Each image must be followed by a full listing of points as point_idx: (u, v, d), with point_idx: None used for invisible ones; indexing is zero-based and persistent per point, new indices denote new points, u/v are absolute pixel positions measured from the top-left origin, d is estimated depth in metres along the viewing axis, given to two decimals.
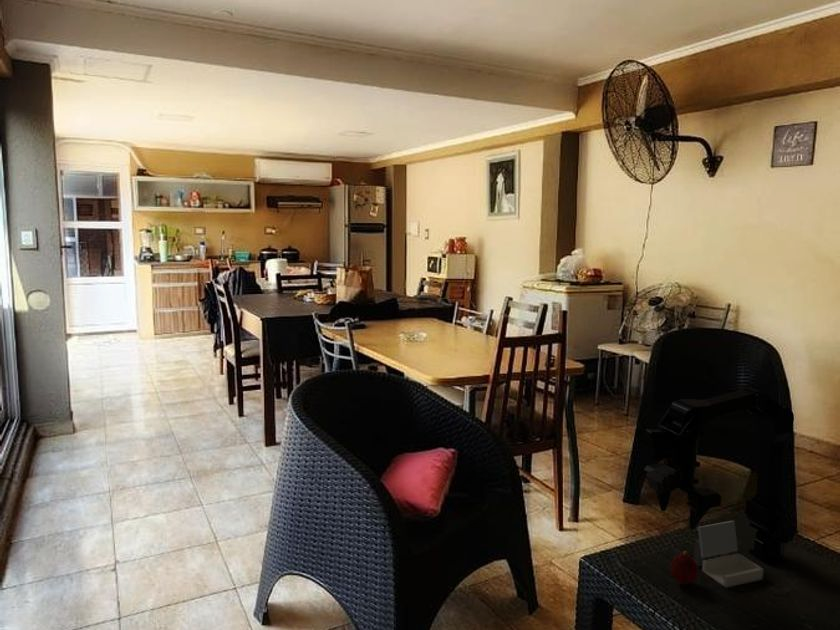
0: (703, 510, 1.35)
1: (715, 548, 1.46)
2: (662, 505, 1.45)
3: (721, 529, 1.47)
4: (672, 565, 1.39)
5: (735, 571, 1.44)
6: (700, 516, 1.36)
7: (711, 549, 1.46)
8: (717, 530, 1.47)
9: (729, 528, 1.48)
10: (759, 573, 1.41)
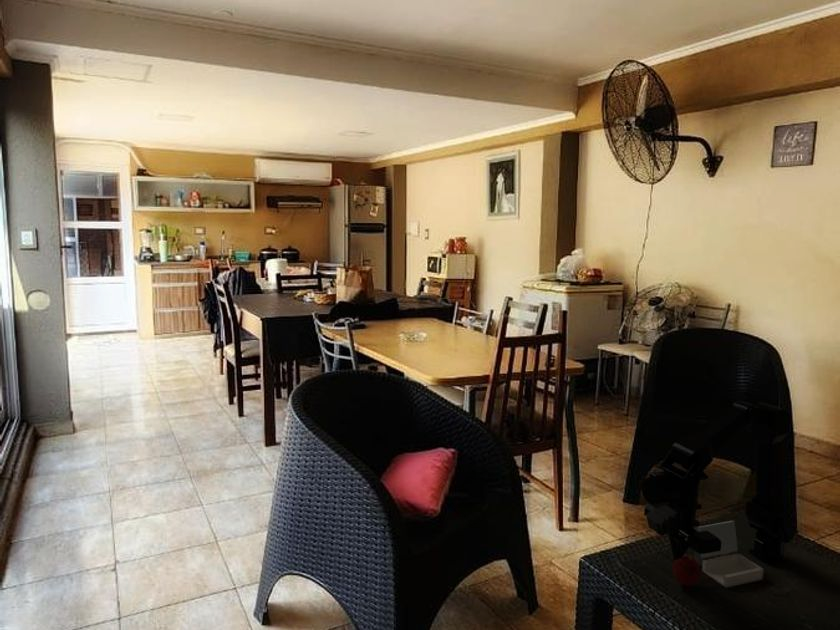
0: (688, 543, 1.39)
1: None
2: None
3: (721, 529, 1.47)
4: (675, 567, 1.37)
5: (735, 571, 1.44)
6: (685, 549, 1.39)
7: None
8: (717, 530, 1.47)
9: (729, 528, 1.48)
10: (759, 573, 1.41)
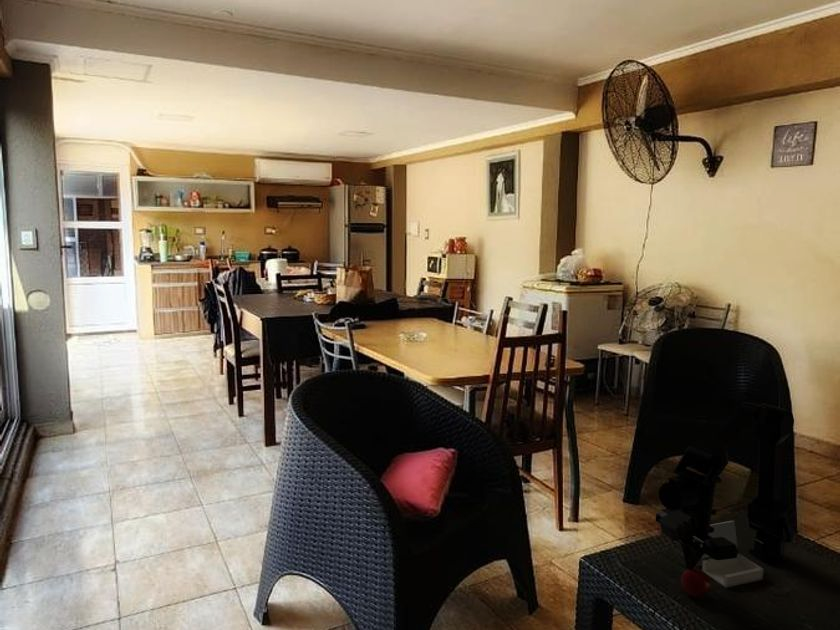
0: (702, 550, 1.34)
1: None
2: None
3: (721, 529, 1.47)
4: (687, 582, 1.33)
5: (735, 571, 1.44)
6: (699, 557, 1.34)
7: None
8: (717, 530, 1.47)
9: (729, 528, 1.48)
10: (759, 573, 1.41)
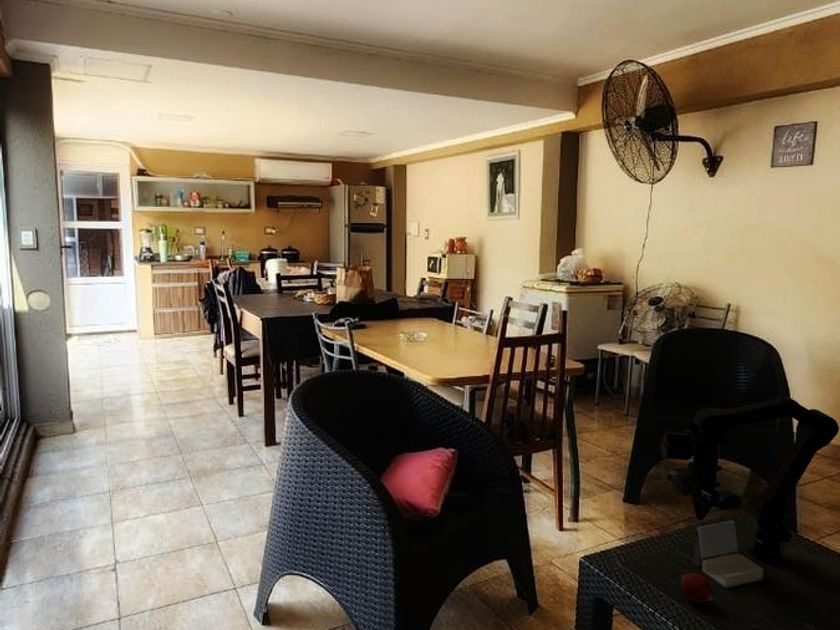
0: (710, 503, 1.50)
1: (715, 548, 1.46)
2: None
3: (721, 529, 1.47)
4: (689, 595, 1.31)
5: (735, 571, 1.44)
6: (708, 509, 1.51)
7: (711, 549, 1.46)
8: (717, 530, 1.47)
9: (729, 528, 1.48)
10: (759, 573, 1.41)
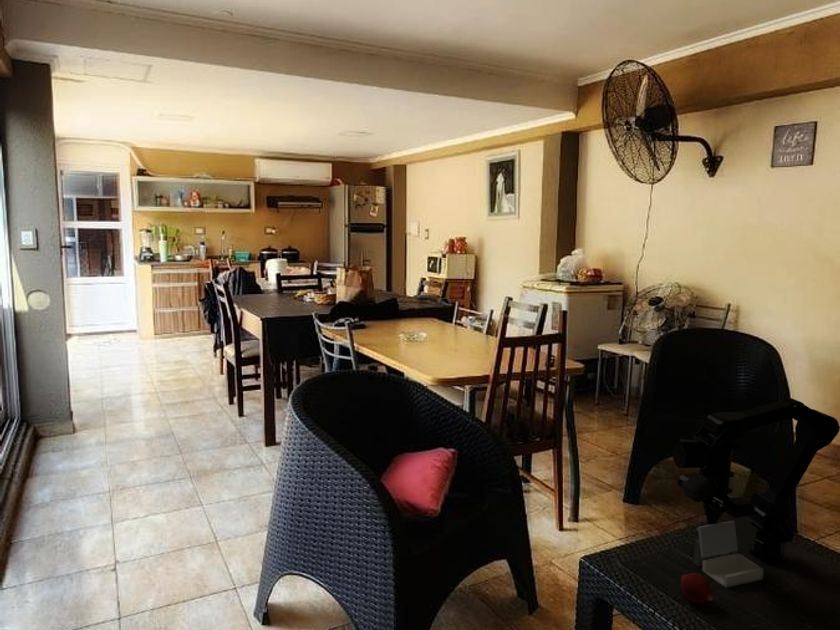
0: (722, 509, 1.47)
1: (715, 548, 1.46)
2: (710, 521, 1.48)
3: (721, 529, 1.47)
4: (689, 595, 1.31)
5: (735, 571, 1.44)
6: (719, 515, 1.48)
7: (711, 549, 1.46)
8: (717, 530, 1.47)
9: (729, 528, 1.48)
10: (759, 573, 1.41)
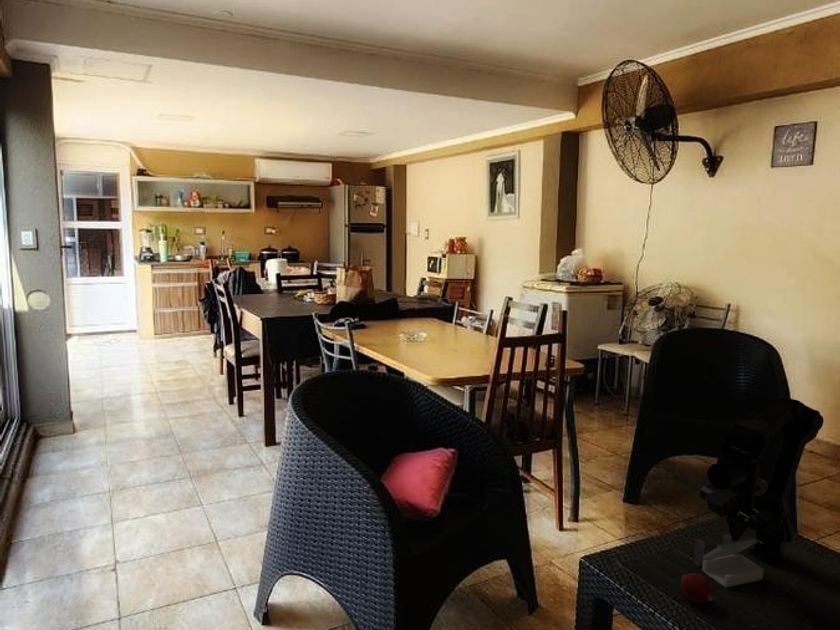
0: (746, 524, 1.40)
1: (720, 554, 1.44)
2: (734, 535, 1.42)
3: (739, 547, 1.42)
4: (689, 595, 1.31)
5: (735, 571, 1.44)
6: (743, 529, 1.41)
7: (716, 555, 1.44)
8: (735, 548, 1.42)
9: (747, 545, 1.43)
10: (759, 573, 1.41)
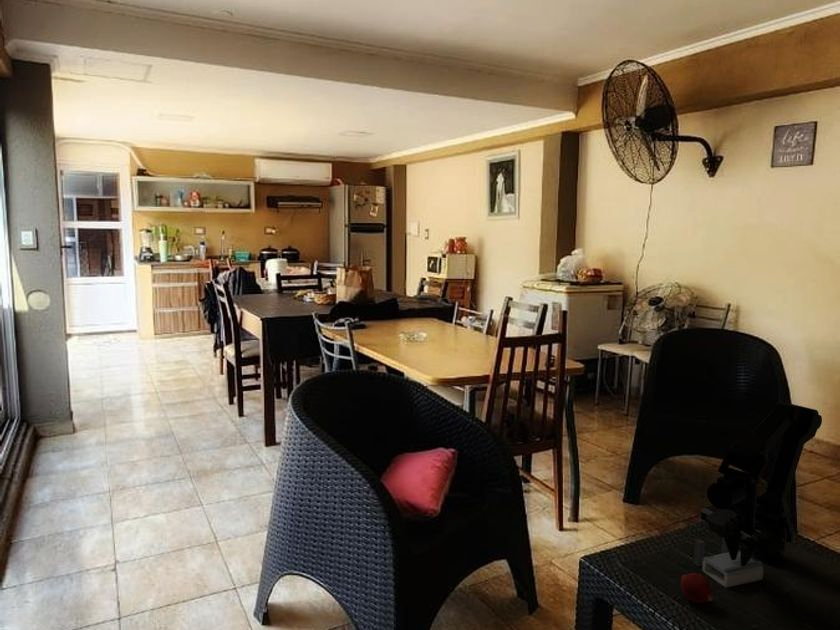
0: (754, 547, 1.39)
1: None
2: (732, 554, 1.42)
3: None
4: (689, 595, 1.31)
5: None
6: (751, 553, 1.39)
7: None
8: None
9: None
10: (759, 573, 1.41)
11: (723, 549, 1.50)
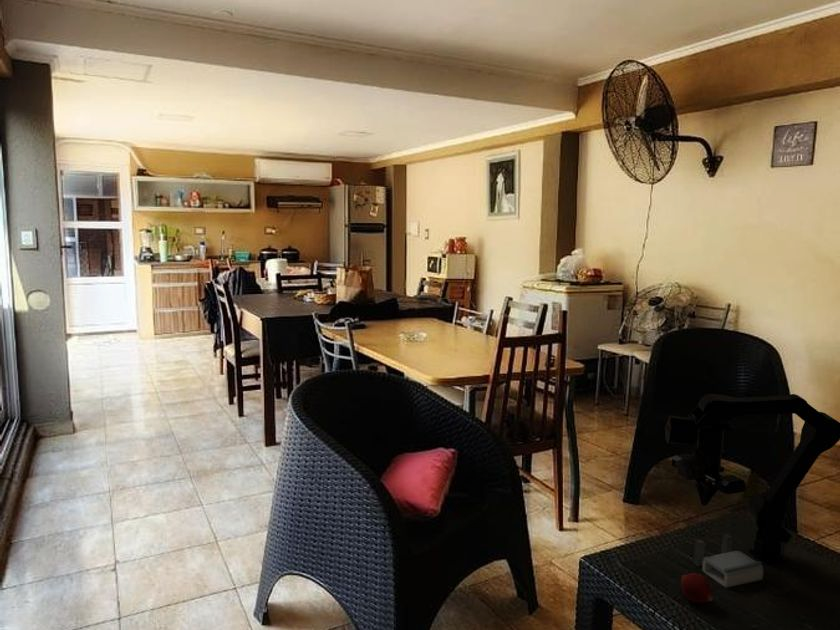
0: (715, 488, 1.51)
1: None
2: None
3: None
4: (689, 595, 1.31)
5: None
6: (712, 494, 1.51)
7: None
8: None
9: None
10: (759, 573, 1.41)
11: (723, 549, 1.50)
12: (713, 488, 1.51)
